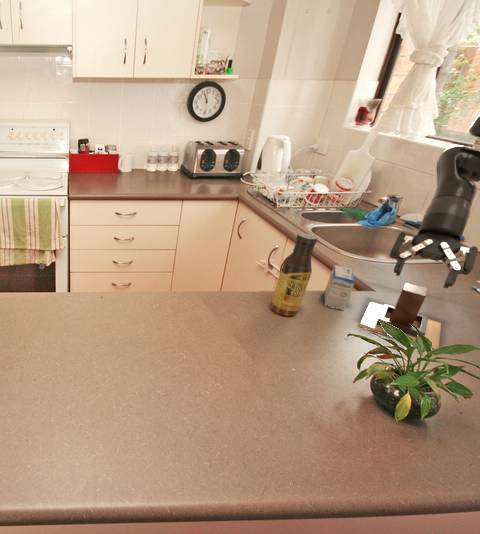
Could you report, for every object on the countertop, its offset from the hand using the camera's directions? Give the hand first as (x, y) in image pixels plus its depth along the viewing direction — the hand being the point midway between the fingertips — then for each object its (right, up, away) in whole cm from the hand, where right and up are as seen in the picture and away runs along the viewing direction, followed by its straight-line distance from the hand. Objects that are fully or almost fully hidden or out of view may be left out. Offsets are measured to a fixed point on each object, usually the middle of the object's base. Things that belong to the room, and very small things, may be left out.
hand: (421, 280), depth 87 cm
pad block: (-2, -10, +3) cm, 11 cm away
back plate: (-2, -11, +3) cm, 12 cm away
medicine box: (-11, -6, +13) cm, 18 cm away
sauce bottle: (-26, -8, +9) cm, 29 cm away
